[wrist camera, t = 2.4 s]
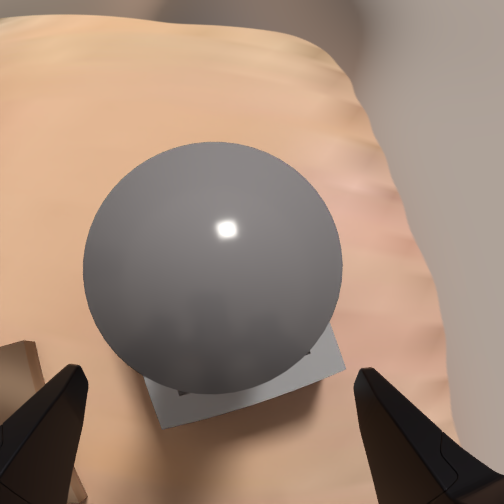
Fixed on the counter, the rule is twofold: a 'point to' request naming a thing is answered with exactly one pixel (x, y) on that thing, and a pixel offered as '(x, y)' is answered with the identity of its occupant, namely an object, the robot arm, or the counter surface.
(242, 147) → the jar
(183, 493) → the counter surface
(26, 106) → the counter surface
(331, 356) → the holder
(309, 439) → the counter surface
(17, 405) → the trivet
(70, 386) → the robot arm
